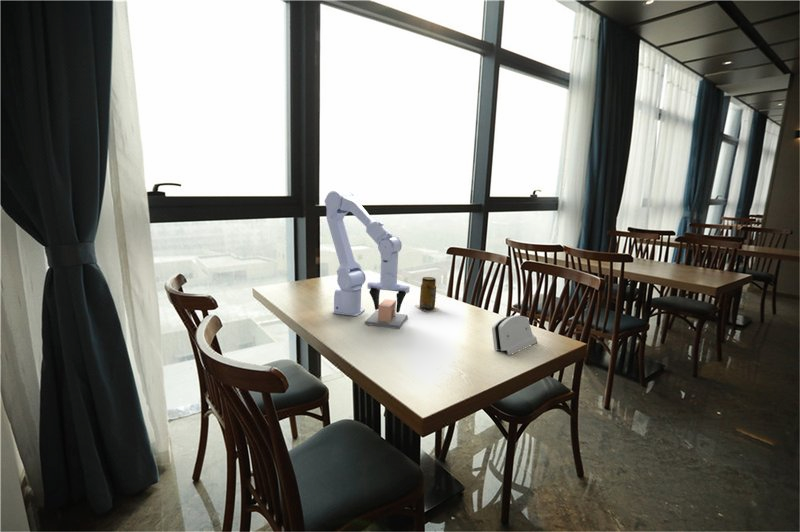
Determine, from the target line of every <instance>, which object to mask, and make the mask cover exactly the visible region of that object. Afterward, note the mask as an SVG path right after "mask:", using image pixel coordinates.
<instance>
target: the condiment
mask: <svg viewBox="0 0 800 532" xmlns="http://www.w3.org/2000/svg"><path fill="white" fill-rule="evenodd" d="M421 279H422V280H421V285H420V293H419V295H420V296H419V304H418V305H417V304H416V305H415V307H416V308H418V309H420V310H422V311H424V312H429V313H430V312H437V311H439V312H440V311H441V309H440V308H438V307H436V298H437V297H436V295H437V285H436V281H437V279H436V278H435V277H433V276H432V277H431V276H424V277H422V278H421Z"/></svg>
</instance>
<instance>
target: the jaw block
mask: <svg viewBox="0 0 800 532" xmlns="http://www.w3.org/2000/svg"><path fill="white" fill-rule="evenodd" d="M396 308H397V299H396V300H395V299H386V298H385V299H384V300H382V302H380V303H379V305H378V310H377V311H378V321H383V322H390V321H391V317H394V316H395V313H396Z"/></svg>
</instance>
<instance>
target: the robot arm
mask: <svg viewBox="0 0 800 532" xmlns="http://www.w3.org/2000/svg"><path fill="white" fill-rule="evenodd" d="M324 204H325V208H326V221H327V225H328V228H329V232H330V235H331V238H332V243H333V245H334V248H335V252H336V256H337V259H338V262H339V266H338V268H337V270H336V274H337V278H336V279H337V280H336V281H337V285H338V287H336V288H335V290H334V296H333V312H332V314H338V315H346V316H354V317H358V316H359V315H360V314H362V313H363V312H364V311H365V308H362V288H363V285H364V284H365V283H366V279H367V278H366V277H367V276H366V274H365V272H364V271H363V269H362V267H361V265H360V263H358V262H357V261H356V260H355V257H354V253H353V251H352V250H353V249H352V248H351V243H350V240H349V237H348V236H349V235H348V232H347V230H346V226H345V222H344V218H345V216H346V215H347V214H348V213H349V212H350V213H352V215H354V217H356V218H357V219H358V220H359V221H360V223H362V224H363V225H364V226H365V232H366V233H367V235H368V236H369V237H370V238H371V239H372V240H373V242H375V244H376V245H377V249H378V251H379V254H380V278H379V280H380V281H379V282H374V281H373V282H371V281H369V282H368V283H367V285H366V286H367V289H368V290H369V291H368V293H369V294H370V297H371V299H372V302H373V304H374V310H375V311H378V305H379V304H380V292H381V291H390V292H396V311H395V313H397V314H400V311H401V306H402V303H403V301H404V299H405V297H406V295H407V294H410V286H409V285H402V284H399V283H398V269H399V268H398V265H399V253H400V252H401V250H402V241H401V239H400V238H399V237H398V236H397V235H396V236H395V235H393V233H391V232H390V231H389V230H387V228H386V227H385V226H384V223H383V222H382V221H379V220H374V219H373V218H372V216H371V215H370V214H369V213H368V211H367V210H366V209H365V208H364V207H363V205H362V204H361V203H360V200H359V199H358V197H357V196H356V195H355V194H354V193H353V192H352V191H350V190H348V191H339V190H338V191H336V190H332V191H329V192H328V193H327V194H326V197H325V199H324Z"/></svg>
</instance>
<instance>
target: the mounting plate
mask: <svg viewBox="0 0 800 532" xmlns="http://www.w3.org/2000/svg"><path fill="white" fill-rule="evenodd" d="M407 319H408V314H405V313H396V312H395V316H394V317H391V321H390V322H383V321H378V310H375V311H374V312H373V313H372V314H371V315H370V316H369V317H368V318H367V319H366V320H365V321H364V324H365V325H367V326H376V327H377V326H378V327H385V328H392V329H399V330H400V328H401V327H402V326H403V324H404V323H405V321H406V320H407Z"/></svg>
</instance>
